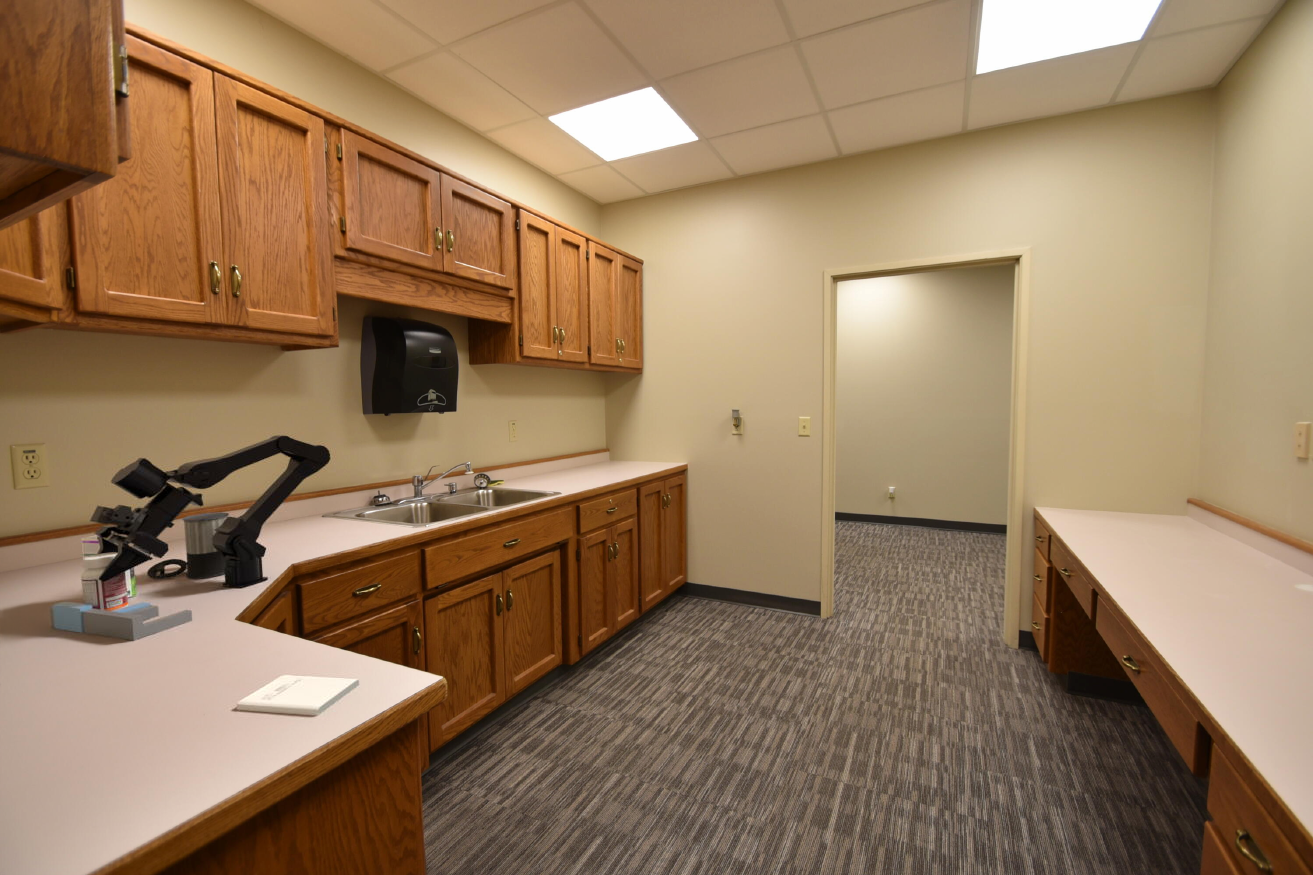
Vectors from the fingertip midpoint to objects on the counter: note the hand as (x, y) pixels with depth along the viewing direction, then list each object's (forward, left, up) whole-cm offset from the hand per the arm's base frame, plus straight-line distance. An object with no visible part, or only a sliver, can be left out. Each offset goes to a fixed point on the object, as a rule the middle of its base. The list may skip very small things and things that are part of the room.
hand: (94, 578), depth 108 cm
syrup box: (-9, -13, -9) cm, 18 cm away
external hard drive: (+11, +65, -9) cm, 67 cm away
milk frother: (-26, -15, -9) cm, 32 cm away
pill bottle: (-1, 0, -7) cm, 8 cm away
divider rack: (-1, +6, -9) cm, 11 cm away
